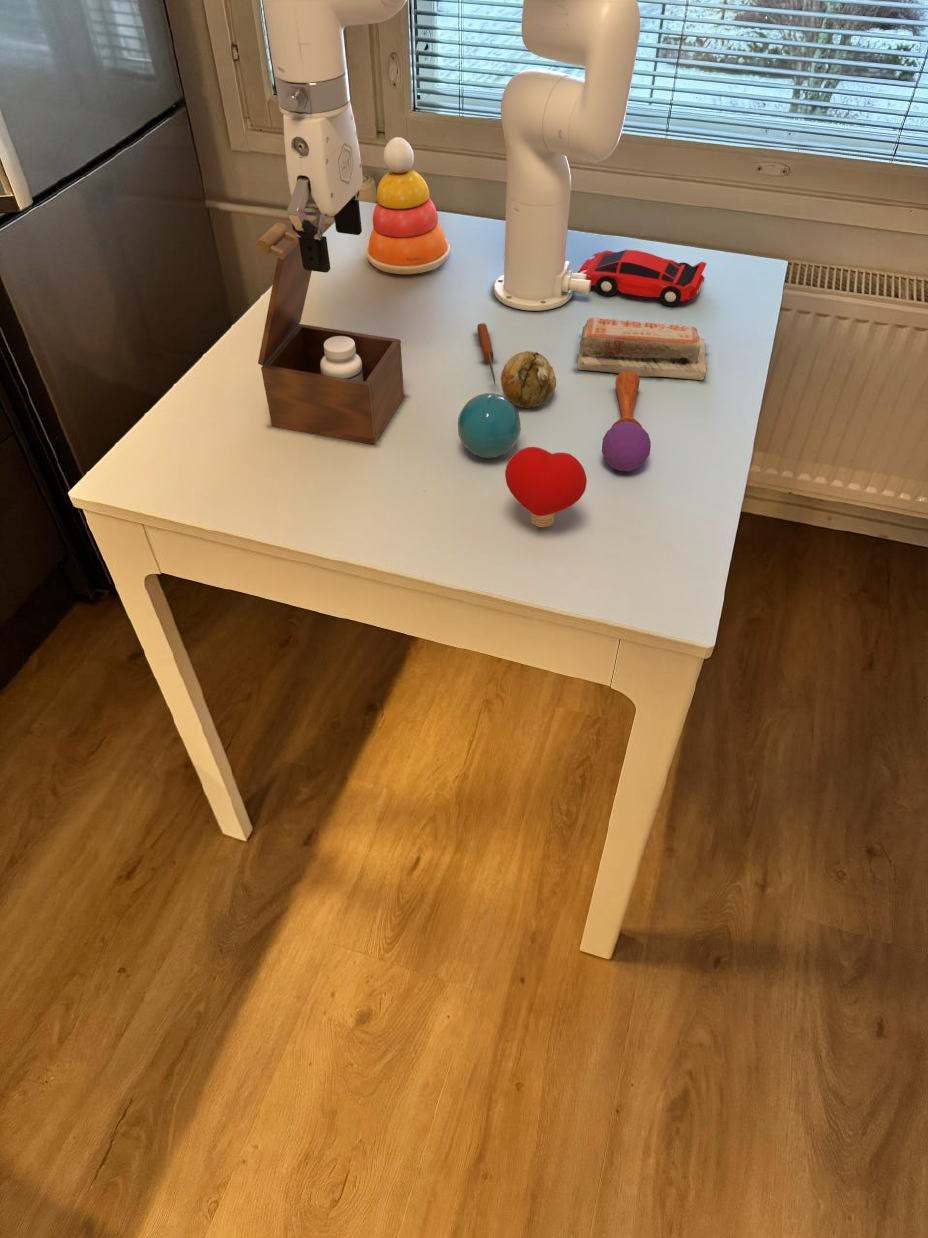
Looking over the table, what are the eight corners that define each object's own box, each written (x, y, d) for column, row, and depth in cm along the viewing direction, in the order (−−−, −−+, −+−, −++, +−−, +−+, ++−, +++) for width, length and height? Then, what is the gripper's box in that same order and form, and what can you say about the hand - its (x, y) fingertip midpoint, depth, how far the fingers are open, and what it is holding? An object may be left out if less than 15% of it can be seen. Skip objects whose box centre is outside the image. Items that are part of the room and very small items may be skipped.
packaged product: (579, 341, 127) (584, 306, 134) (576, 372, 130) (581, 336, 137) (711, 351, 125) (709, 315, 131) (704, 382, 128) (703, 346, 135)
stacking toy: (448, 241, 160) (446, 120, 146) (452, 279, 150) (450, 153, 136) (367, 243, 159) (357, 122, 145) (365, 281, 149) (354, 155, 135)
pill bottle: (317, 412, 122) (308, 347, 115) (342, 393, 125) (334, 328, 118) (350, 424, 120) (342, 358, 113) (374, 405, 123) (368, 339, 116)
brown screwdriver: (477, 333, 138) (477, 320, 136) (486, 332, 138) (486, 320, 137) (490, 390, 127) (490, 377, 126) (499, 389, 127) (500, 377, 126)
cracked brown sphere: (566, 392, 127) (570, 340, 121) (541, 422, 122) (545, 369, 116) (516, 379, 129) (519, 327, 123) (491, 407, 124) (492, 354, 118)
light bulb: (587, 515, 109) (596, 445, 101) (573, 552, 104) (580, 482, 97) (512, 499, 111) (515, 430, 103) (495, 535, 106) (497, 465, 99)
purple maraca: (655, 367, 123) (657, 444, 109) (641, 405, 128) (641, 485, 113) (613, 356, 123) (609, 432, 109) (600, 395, 127) (595, 473, 113)
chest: (404, 397, 126) (400, 339, 120) (374, 444, 119) (368, 385, 112) (307, 380, 129) (298, 323, 123) (271, 426, 122) (260, 367, 115)
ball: (523, 436, 120) (526, 383, 114) (515, 474, 114) (517, 419, 108) (463, 431, 120) (462, 377, 115) (452, 467, 115) (451, 413, 109)
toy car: (584, 265, 153) (587, 235, 149) (704, 282, 149) (710, 251, 145) (569, 293, 146) (572, 263, 142) (695, 312, 142) (701, 281, 138)
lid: (323, 217, 111) (288, 200, 111) (283, 259, 103) (245, 240, 103) (300, 321, 122) (268, 306, 122) (262, 366, 115) (228, 349, 115)
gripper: (312, 124, 89) (334, 289, 101) (376, 67, 100) (388, 223, 112) (243, 117, 90) (273, 281, 103) (313, 62, 101) (332, 216, 114)
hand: (333, 250), depth 108 cm, fingers open, 9 cm apart
